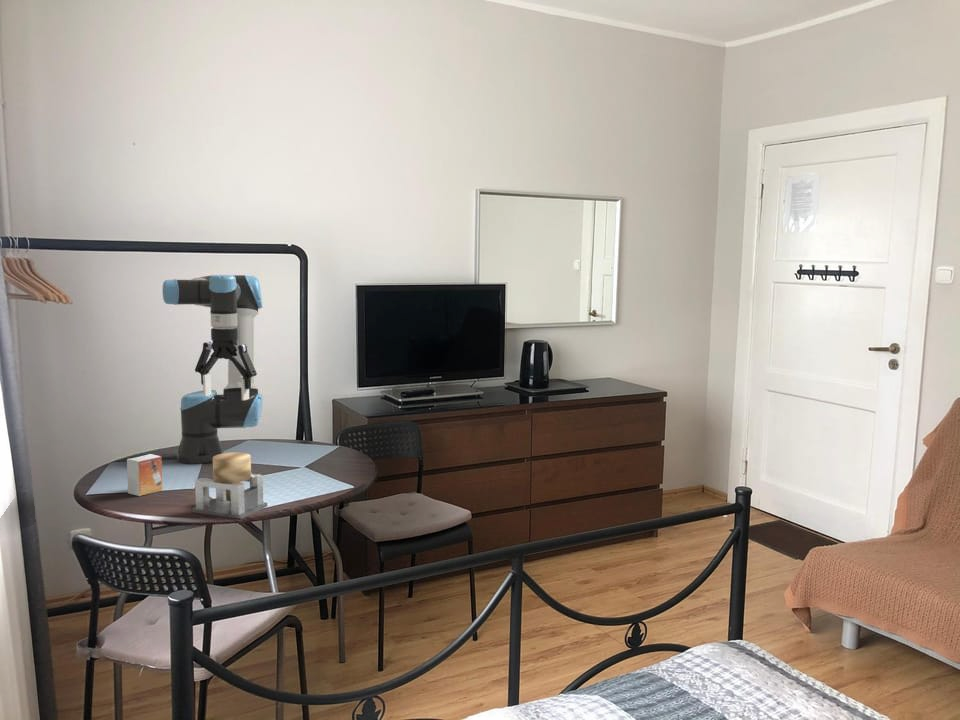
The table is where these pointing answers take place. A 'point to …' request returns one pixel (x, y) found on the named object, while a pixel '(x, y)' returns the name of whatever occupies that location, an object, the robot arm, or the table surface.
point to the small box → (144, 474)
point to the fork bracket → (240, 501)
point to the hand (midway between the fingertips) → (226, 397)
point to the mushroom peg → (231, 468)
